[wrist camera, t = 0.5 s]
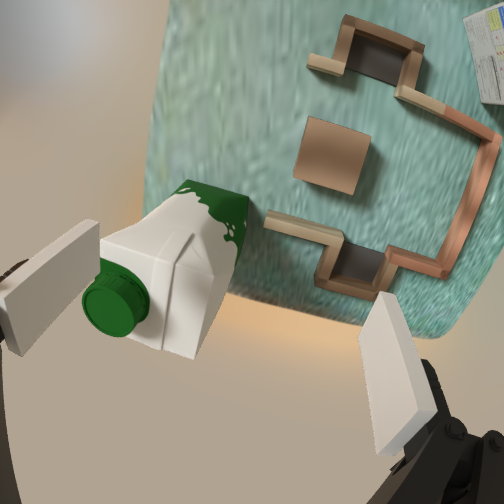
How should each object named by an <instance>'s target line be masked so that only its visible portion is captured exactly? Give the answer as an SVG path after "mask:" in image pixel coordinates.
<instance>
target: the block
mask: <svg viewBox="0 0 504 504" xmlns="http://www.w3.org/2000/svg"><path fill="white" fill-rule="evenodd" d="M370 141H371V136H369V135H366V134H364V133H361V132H358V131H355V130H352V129H349V128H346V127H343V126H340V125H337V124H334V123H330V122H327V121H324V120H321V119H317V118H314V117H310V116H308V119H307V123H306V126H305V130H304V134H303V137H302V141H301V144H300V148H299V152H298V155H297V159H296V162H295V166H294V169H293V177H294V178H297V179H301V180H304V181H308V182H311V183H314V184H318V185H321V186H324V187H328V188H331V189H334V190H338V191H341V192H344V193H347V194H350V195H353V193H354V190H355V187H356V184H357V181H358V178H359V175H360V172H361V169H362V166H363V163H364V160H365V157H366V154H367V150H368V147H369V144H370Z"/></svg>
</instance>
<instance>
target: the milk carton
mask: <svg viewBox="0 0 504 504" xmlns="http://www.w3.org/2000/svg"><path fill="white" fill-rule="evenodd" d="M247 206H248V196H244V195H241V194H238V193H234V192H231V191H227V190H224V189H220V188H217V187H213V186H210V185H206V184H203V183H199V182H195V181H192V180H188V179H187V180H186V181H185V182H184V183H183V184H182V185H181V186H180V187H179V188H178V189H177V190H176V191H175V192H174V193H173V194H172V195H171V196H170V197H169V198H168V199H166V200H165V201H164V202H163V203H161V204H160V205H159V206H158V207H157V208H155V209H154V210H153V211H152V212H150V213H149V214H148V215H147V216H146V217H144V218H143V219H142V220H141V221H140V222H138V223H136V224H134V225H131V226H129V227H127V228H125V229H123V230H120V231H118V232H116V233H113V234H111V235H109V236H107V237H104V238H102V239H101V240H100V273H99V274H98V275H97V276H96V277H95V281H94V282H93V283H92V284H91V285H90V286H89V287H88V288H87V289H86V291H85V292H84V294H83V297H82V306H83V310H84V312H85V315H86V316H87V318H88V320H89V321H90V322H91V323H92V324H93V325H94V326H95V327H96V328H97V329H98V330H100V331H101V332H103V333H105V334H107V335H110V336H113V337H124V336H125V337H128V338H130V339H133V340H135V341H138V342H141V343H143V344H146V345H147V346H149V347H152V348H154V349H157V350H162V349H164V350H166V351H169V352H172V353H175V354H178V355H181V356H184V357H187V358H190V359H193V360H194V359H195V357H196V355H197V353H198V351H199V349H200V347H201V345H202V343H203V341H204V338H205V337H206V335H207V333H208V331H209V329H210V326H211V325H212V323H213V320H214V319H215V316H216V314H217V312H218V310H219V308H220V306H221V303H222V301H223V299H224V296H225V294H226V291H227V289H228V286H229V283H230V280H231V278H232V275H233V272H234V269H235V266H236V264H237V261H238V258H239V255H240V252H241V249H242V244H243V240H244V236H245V231H246V221H247Z"/></svg>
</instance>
